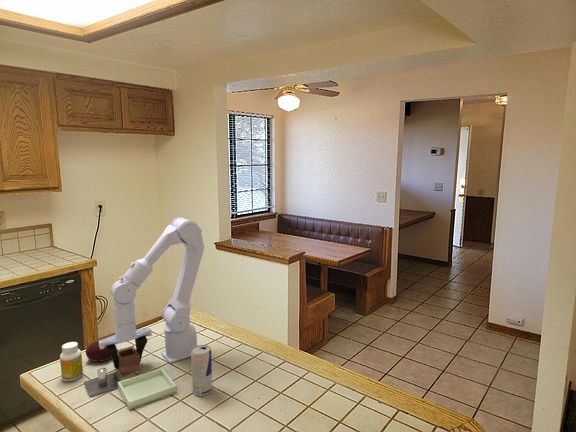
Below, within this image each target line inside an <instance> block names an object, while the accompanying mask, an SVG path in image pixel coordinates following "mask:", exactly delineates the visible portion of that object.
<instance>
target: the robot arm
mask: <svg viewBox="0 0 576 432" xmlns="http://www.w3.org/2000/svg"><path fill="white" fill-rule="evenodd" d="M202 232H203V230H202V229H201V228H200V226H199V225H198V223H197V222H195V221H193V220H190V219H187V218H186V217H184V216H177V217H175V218H174V219H173V220H172V221H171V223H170V224H168V225H167V226H166V227H165V229H164V231H163V232H162V233H161V235H160V236H159V238H157V239H156V242H154V244H153V245H152V246H151V248H150V249H149V251H148V252H147V253H146V254H145V256H144V257H143V258H139V259H136V260H135V261H131V263H130V264H129V266H130V267H129V268H128V270H127V271H125V273H124V274H123V275H120V277H119V278H118V280H117V281H114V283H113V284H112V286H111V289H110V295H111V296H112V297H113V307H112V308H113V320H114V323H113V324H114V333H115V334H113V335H110V336H108V337H106V338H102V339H98V340H99V348H100V349H104V347H106V349H107V350H108V352H109V353H110V355H111V360H112V363H113V367H114V369H115V370H117V369H118V360H117V352H118V350H119V349H118V348H117V345H118V344H123V343H128V342H131V341H134V342H135V349H136V350H137V352H138V353H139V354H140V363H141V362H142V357H143V352H144V349H145V348H146V346H147V343H148V337H152V336H153V333H152V328H150V327H147V328H140V329H137V325H136V324H137V323H136V308H135V307H136V306H135V304H134V303H135V300H134V299H136V297H137V291H138V290H139V288H140V287H141V286H142V285H143V283H144V282H145V281H146V280H147V279H148V278H149V276H150V275H151V274H152V273H153V265H154V264H155V263H156V262H157V261H158V260H159V259H160V258H161V257H162V255H163V254H165V252H166V251H168V249H169V248H170V247H172V246H174V245H178V244H183V246H184V247H185V252H184V256H183V261H182V263H181V267H180V269H179V270H180V271H179V274H178V277H177V281H176V284H175V288H174V292H173V295H172V296H171V298H169V300H168V302H167V305H166V306H165V307H164V309H163V310H162V313H161V316H162V320H163V321H165V325H164V347H165V349H164V350H163V351H161V355H162V356H163V357H164V358H165V359H166V361H167V362H168V363H171V364H172V363H175V362H178V361H181V360H185V359H188V358H191V351H192V348H194V347H195V346H198V334H197V330H196V327H195V325H193V324H192V323H191V317H190V314H191V305H190V304H191V303H190V300H191V297H192V292H193V289H194V286H195V282H196V279H197V274H198V272H199V268H200V264H201V261H202V257H203V253H204V251H205V245H204V243H205V242H204V241H203V240H204V239H203V237H202ZM190 323H191V324H190Z"/></svg>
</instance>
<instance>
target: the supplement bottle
mask: <svg viewBox="0 0 576 432" xmlns="http://www.w3.org/2000/svg"><path fill="white" fill-rule="evenodd" d="M59 355H60V356H59V361H60V362H59V363H60V372H61V380H62V381H63V382H72V381H76V380H78V379H80V378H81V377H82V376H83V375H84V374H83V373H84V369H83V356H82V350H80V348H79V344H78V342H77V341H70V342H66V343H64V344H62V346H61V353H60V354H59Z"/></svg>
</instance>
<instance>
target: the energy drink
mask: <svg viewBox="0 0 576 432" xmlns="http://www.w3.org/2000/svg"><path fill="white" fill-rule="evenodd" d="M212 358H213V357H212V349H211V347H210V346H209V345H206V344H199V345H198V344H197V346H195V347H194V348H192V351H191V357H190V363H191V364H190V366H191V367H190V370H191V389H192V391H191V393H193V394H194V395H195V396H198V397H203V396H208V395H209V394H210V393H211V392H212V391H213V364H212V363H213V361H212V360H213V359H212Z"/></svg>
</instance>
